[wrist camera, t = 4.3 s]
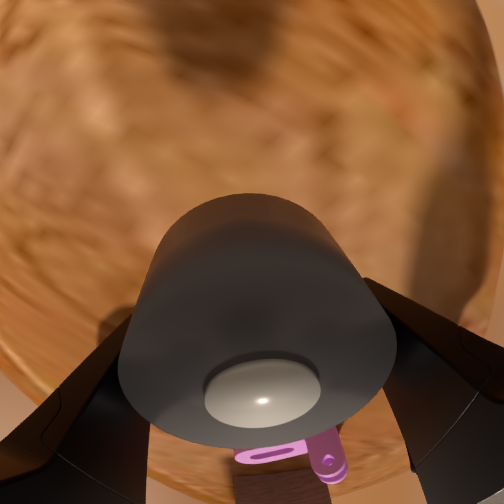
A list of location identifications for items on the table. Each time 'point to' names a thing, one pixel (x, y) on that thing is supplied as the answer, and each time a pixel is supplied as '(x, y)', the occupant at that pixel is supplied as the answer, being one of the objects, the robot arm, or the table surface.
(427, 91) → the table surface
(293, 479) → the tissue box cover
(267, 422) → the cap
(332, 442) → the bracket
